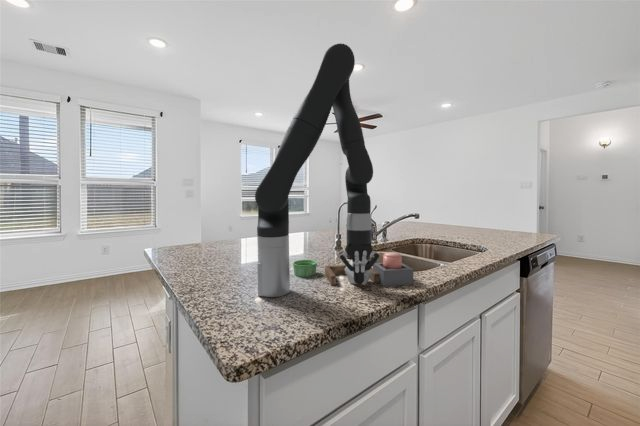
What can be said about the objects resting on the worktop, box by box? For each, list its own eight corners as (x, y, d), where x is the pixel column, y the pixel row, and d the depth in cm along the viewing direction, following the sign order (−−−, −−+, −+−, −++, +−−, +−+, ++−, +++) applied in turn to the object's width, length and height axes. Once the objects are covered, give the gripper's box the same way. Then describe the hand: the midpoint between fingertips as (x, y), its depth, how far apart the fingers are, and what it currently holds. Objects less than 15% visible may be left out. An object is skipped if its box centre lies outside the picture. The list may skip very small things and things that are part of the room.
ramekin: (299, 279, 97) (299, 266, 97) (289, 273, 105) (288, 261, 105) (321, 275, 102) (321, 263, 101) (310, 269, 109) (309, 258, 109)
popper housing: (383, 286, 88) (383, 270, 88) (372, 277, 98) (372, 263, 97) (413, 284, 89) (413, 269, 89) (399, 275, 99) (399, 261, 99)
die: (356, 291, 86) (375, 265, 86) (336, 274, 90) (353, 249, 90) (363, 292, 93) (380, 269, 93) (343, 276, 97) (359, 254, 97)
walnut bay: (331, 285, 89) (331, 276, 89) (324, 273, 103) (324, 265, 103) (379, 282, 92) (379, 273, 92) (366, 271, 105) (366, 263, 105)
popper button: (387, 273, 90) (387, 256, 90) (380, 268, 96) (380, 252, 96) (404, 272, 91) (404, 255, 91) (396, 267, 97) (397, 251, 96)
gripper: (340, 229, 81) (340, 288, 82) (384, 228, 82) (383, 286, 83) (335, 227, 88) (335, 281, 89) (375, 226, 90) (375, 279, 91)
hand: (358, 283), depth 86 cm, fingers closed
